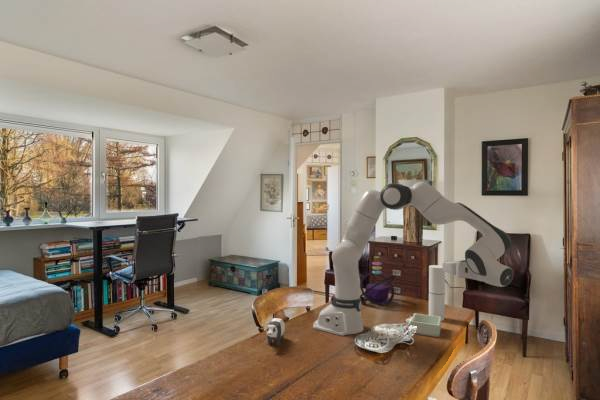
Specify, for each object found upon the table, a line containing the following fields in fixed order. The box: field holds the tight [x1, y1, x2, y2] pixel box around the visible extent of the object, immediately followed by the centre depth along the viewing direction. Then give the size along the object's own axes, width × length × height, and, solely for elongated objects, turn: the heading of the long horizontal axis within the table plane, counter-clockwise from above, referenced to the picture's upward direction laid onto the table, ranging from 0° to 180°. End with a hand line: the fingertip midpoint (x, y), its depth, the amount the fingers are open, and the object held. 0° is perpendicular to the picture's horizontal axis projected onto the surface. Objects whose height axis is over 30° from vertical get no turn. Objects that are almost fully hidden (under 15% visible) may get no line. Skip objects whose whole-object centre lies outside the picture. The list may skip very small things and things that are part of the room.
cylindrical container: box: [428, 264, 446, 322], centre depth 176 cm, size 7×7×25 cm
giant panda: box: [266, 317, 286, 347], centre depth 148 cm, size 15×6×10 cm, turn 169°
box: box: [409, 312, 442, 338], centre depth 162 cm, size 12×12×5 cm
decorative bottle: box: [360, 255, 397, 306], centre depth 202 cm, size 22×21×25 cm
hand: (454, 262), depth 164 cm, fingers open, 8 cm apart
